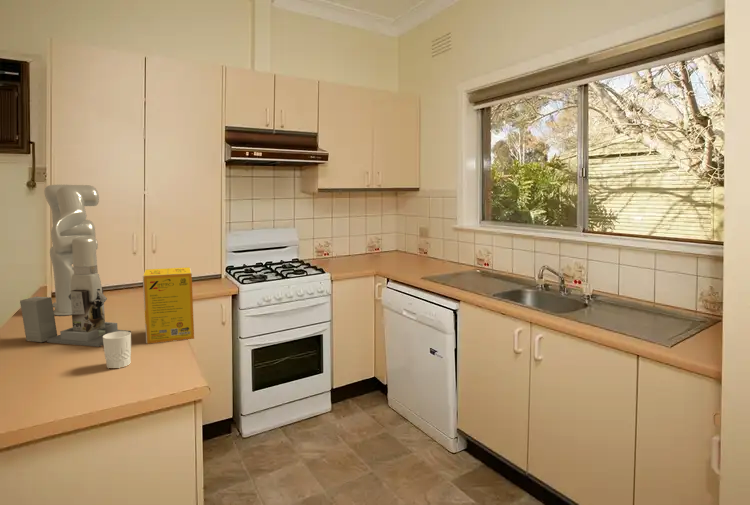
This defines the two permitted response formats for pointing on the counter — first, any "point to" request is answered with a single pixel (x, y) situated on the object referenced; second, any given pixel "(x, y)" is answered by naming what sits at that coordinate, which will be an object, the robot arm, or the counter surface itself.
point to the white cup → (117, 349)
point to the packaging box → (168, 304)
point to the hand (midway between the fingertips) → (88, 317)
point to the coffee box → (85, 313)
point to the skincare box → (38, 318)
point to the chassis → (85, 336)
